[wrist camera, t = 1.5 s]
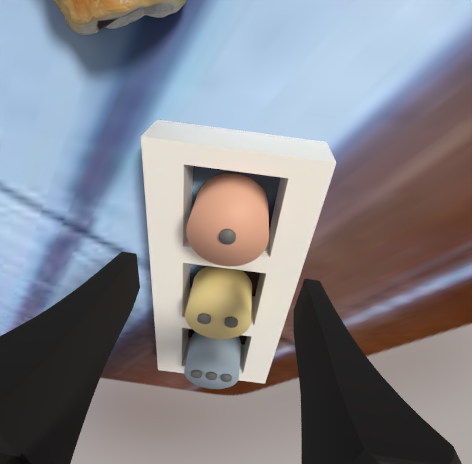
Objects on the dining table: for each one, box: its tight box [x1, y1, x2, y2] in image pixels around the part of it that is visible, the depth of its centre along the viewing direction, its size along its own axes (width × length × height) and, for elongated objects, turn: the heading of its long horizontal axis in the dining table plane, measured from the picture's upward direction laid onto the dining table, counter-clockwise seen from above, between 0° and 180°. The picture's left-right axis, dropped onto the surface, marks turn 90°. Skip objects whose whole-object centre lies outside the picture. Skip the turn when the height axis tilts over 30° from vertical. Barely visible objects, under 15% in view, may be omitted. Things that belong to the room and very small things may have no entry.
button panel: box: [141, 119, 336, 383], centre depth 23 cm, size 22×10×3 cm, turn 174°
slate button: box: [184, 332, 241, 389], centre depth 26 cm, size 4×4×3 cm
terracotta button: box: [186, 173, 269, 267], centre depth 17 cm, size 4×4×3 cm
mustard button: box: [185, 266, 252, 339], centre depth 22 cm, size 4×4×3 cm
